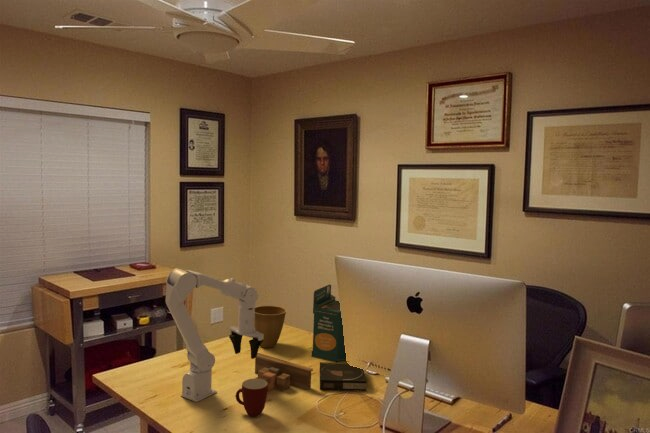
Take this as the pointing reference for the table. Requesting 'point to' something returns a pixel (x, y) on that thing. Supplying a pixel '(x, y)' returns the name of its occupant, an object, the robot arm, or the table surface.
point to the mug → (253, 396)
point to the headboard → (284, 372)
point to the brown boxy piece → (270, 377)
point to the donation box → (327, 327)
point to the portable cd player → (341, 377)
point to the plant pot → (269, 324)
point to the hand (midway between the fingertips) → (245, 355)
